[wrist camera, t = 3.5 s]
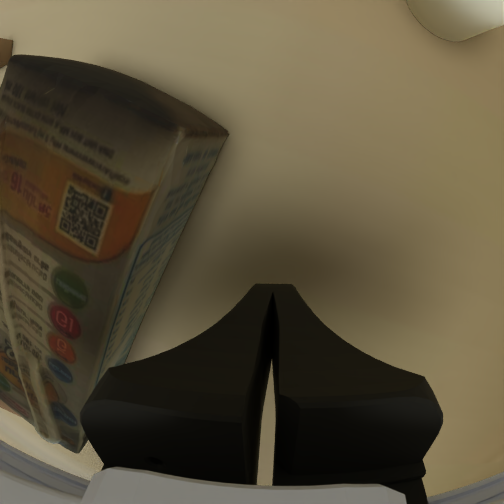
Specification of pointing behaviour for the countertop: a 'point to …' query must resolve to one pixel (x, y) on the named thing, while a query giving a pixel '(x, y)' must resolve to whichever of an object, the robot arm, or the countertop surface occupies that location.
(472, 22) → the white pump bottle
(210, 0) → the countertop surface
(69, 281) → the beverage carton
